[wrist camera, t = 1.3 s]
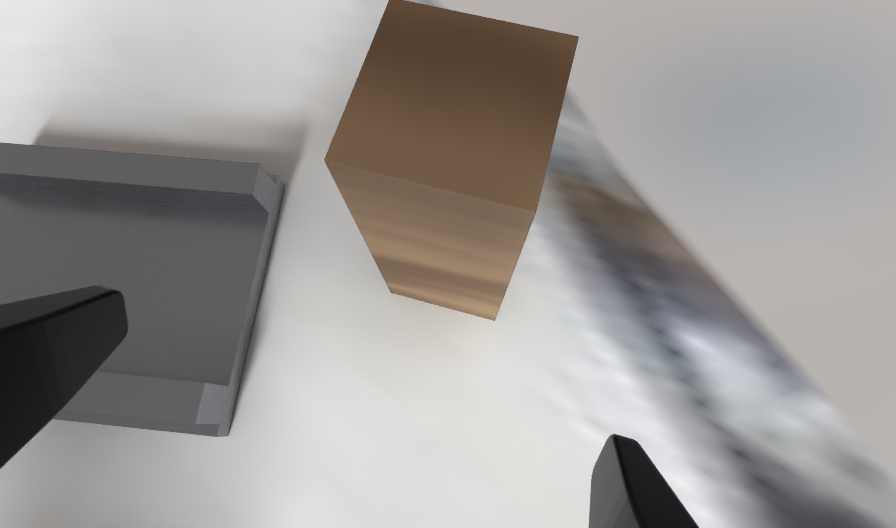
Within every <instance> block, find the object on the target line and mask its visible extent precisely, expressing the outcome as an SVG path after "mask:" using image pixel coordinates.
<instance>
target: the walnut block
mask: <svg viewBox="0 0 896 528" xmlns="http://www.w3.org/2000/svg"><path fill="white" fill-rule="evenodd" d="M578 38H579V37H578V36H573V35H568V34H564V33H558V32H553V31H548V30H544V29H539V28H535V27H530V26H525V25H520V24H515V23H511V22H505V21H501V20H496V19H491V18H486V17H482V16H477V15H472V14H467V13H462V12H457V11H452V10H448V9H443V8H438V7H433V6H429V5H424V4H419V3H414V2H409V1H404V0H389V2H388V4H387V7H386V9H385V12H384V14H383V17H382V19H381V21H380V24H379V26H378V29H377V31H376V34H375V36H374V39H373V41H372V44H371V46H370V49H369V51H368V53H367V56H366V58H365V61H364V63H363V66H362V68H361V71H360V73H359V76H358V78H357V80H356V83H355V85H354V88H353V90H352V93H351V95H350V98H349V100H348V103H347V105H346V108H345V110H344V112H343V115H342V117H341V120H340V122H339V125H338V127H337V130H336V132H335V135H334V137H333V139H332V142H331V144H330V147H329V149H328V152H327V154H326V157H325V159H324V161H325V163H326V165H327V167H328V169H329V171H330V173H331V175H332V177H333V179H334V180H335V182H336V184H337V186H338V188H339V190H340V192H341V194H342V196H343V198H344V200H345V202H346V204H347V206H348V208H349V210H350V212H351V214H352V216H353V218H354V220H355V222H356V224H357V226H358V228H359V230H360V232H361V234H362V236H363V238H364V240H365V242H366V244H367V246H368V248H369V250H370V252H371V254H372V256H373V258H374V260H375V262H376V264H377V266H378V268H379V270H380V272H381V274H382V276H383V278H384V280H385V282H386V284H387V286H388V288H389V290H390V292H391V293H395V294H398V295H402V296H406V297H409V298H413V299H417V300H420V301H424V302H428V303H431V304H435V305H439V306H443V307H446V308H450V309H454V310H457V311H461V312H465V313H468V314H472V315H476V316H479V317H483V318H487V319H490V320H494V321H495V319H496V316H497V314H498V311H499V308H500V306H501V303H502V300H503V298H504V295H505V292H506V290H507V287H508V284H509V282H510V279H511V277H512V274H513V271H514V269H515V266H516V263H517V261H518V258H519V255H520V253H521V250H522V248H523V245H524V242H525V240H526V237H527V234H528V232H529V229H530V226H531V224H532V221H533V218H534V216H535V213H536V210H537V206H538V202H539V197H540V193H541V189H542V185H543V181H544V177H545V173H546V169H547V165H548V161H549V157H550V153H551V148H552V144H553V140H554V136H555V132H556V128H557V124H558V120H559V116H560V112H561V108H562V104H563V99H564V95H565V91H566V87H567V83H568V79H569V75H570V71H571V67H572V63H573V58H574V54H575V50H576V46H577V42H578Z"/></svg>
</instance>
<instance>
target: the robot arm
mask: <svg viewBox="0 0 896 528" xmlns="http://www.w3.org/2000/svg"><path fill="white" fill-rule="evenodd" d="M128 329H129V324H128V317H127V311H126V305H125V298H124V295H123V294H122V292H120V291H119V290H117V289H113V288H110V287H106V286H103V285H93V286H88V287H83V288H78V289H73V290H68V291H63V292H59V293H54V294H49V295H44V296H39V297H34V298H29V299H24V300H19V301H14V302H9V303H5V304H0V469H1V468H2V467H3V466H4V465H5V464H6V463H7V462H8V461H9V460H10V459H11V458H12V457H13V456H14V455H15V454H16V453H17V452H18V451H20V450H21V449H22V448H23V447H24V446H25V445H26V444H27V443H28V442H29V441H30V440H31V439H32V438H33V437H34V436H35V435H36V434H37V433H38V432H39V431H40V430H41V429H43V428H44V427H45V426H46V425H47V424H48V423H49V422H50V421H51V420H52V419H53V418H54V417H55V416H56V415H57V414H58V413H59V412H60V411H61V410H62V409H63V408H64V407H65V406H66V405H67V404H68V403H69V402H70V401H71V400H72V398H73V397H74V396H75V395H76V394H77V393H78V392H79V391H80V389H81V388H82V387H83V386H84V385H85V384H86V383H87V382H88V380H89V379H90V378H91V377H92V376H93V375H94V374H95V372H96V371H97V370H98V369H99V368H100V367H101V366H102V364H103V363H104V362H105V361H106V360H107V359H108V358H109V356H110V355H111V354H112V353H113V352H114V351H115V350H116V348H117V347H118V346H119V345H120V344H121V343H122V342H123V340H124V339H125V337H126V336H127V333H128ZM589 528H699V527H698V525H697V524H696V523H695V521H694V520H693V518H692V517H691V516H690V514H689V513H688V511H687V510H686V509H685V507H684V506H683V504H682V503H681V502H680V500H679V499H678V497H677V496H676V495H675V493H674V492H673V490H672V489H671V487H670V486H669V485H668V483H667V482H666V480H665V479H664V478H663V476H662V475H661V473H660V472H659V471H658V469H657V468H656V466H655V465H654V464H653V462H652V461H651V459H650V458H649V457H648V455H647V454H646V452H645V451H644V450H643V448H642V447H641V445H640V444H639V443H638V442H637V441H636V440H634V439H630V438H627V437H624V436H620V435H617V434H613V435H610V436H609V438H608V439H607V441H606V443H605V445H604V447H603V449H602V451H601V453H600V455H599V458H598V460H597V462H596V464H595V466H594V469H593V473H592V479H591V495H590V514H589Z"/></svg>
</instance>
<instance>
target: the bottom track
mask: <svg viewBox="0 0 896 528" xmlns="http://www.w3.org/2000/svg"><path fill="white" fill-rule="evenodd" d="M284 187H285V185H284V183H283V182H282V181H281V179H280V178H279V176H275V175H268V174H267V173H266V171H265V170H264V169H263V167H262V166H261V165H260V164H256V163H244V162H231V161H219V160H207V159H195V158H182V157H170V156H158V155H146V154H133V153H121V152H109V151H96V150H84V149H72V148H60V147H47V146H35V145H23V144H11V143H0V304H5V303H9V302H14V301H19V300H24V299H29V298H34V297H39V296H44V295H49V294H54V293H59V292H63V291H68V290H73V289H78V288H83V287H88V286H93V285H103V286H106V287H110V288H113V289H117V290H119V291H120V292H122V294H123V295H124V298H125V305H126V311H127V317H128V324H129V329H128V333H127V336H126V337H125V339H124V340H123V342H122V343H121V344H120V345H119V346H118V347H117V348H116V350H115V351H114V352H113V353H112V354H111V355H110V356H109V358H108V359H107V360H106V361H105V362H104V363H103V364H102V366H101V367H100V368H99V369H98V370H97V371H96V372H95V374H94V375H93V376H92V377H91V378H90V379H89V380H88V382H87V383H86V384H85V385H84V386H83V387H82V388H81V389H80V391H79V392H78V393H77V394H76V395H75V396H74V397H73V398H72V400H71V401H70V402H69V403H68V404H67V405H66V406H65V407H64V408H63V409H62V410H61V411H60V412H59V413H58V414H57V415H56V416H55V417H54V418H53V419H59V420H68V421H77V422H87V423H96V424H105V425H114V426H123V427H133V428H142V429H151V430H160V431H169V432H179V433H188V434H197V435H206V436H215V437H220V436H228V433H229V429H230V425H231V420H232V416H233V411H234V407H235V403H236V398H237V394H238V389H239V385H240V381H241V376H242V372H243V367H244V363H245V359H246V354H247V350H248V345H249V341H250V337H251V332H252V328H253V323H254V319H255V315H256V310H257V306H258V302H259V297H260V293H261V288H262V284H263V280H264V275H265V271H266V266H267V262H268V258H269V253H270V249H271V244H272V240H273V236H274V231H275V227H276V222H277V218H278V214H279V209H280V205H281V201H282V196H283V192H284Z"/></svg>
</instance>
